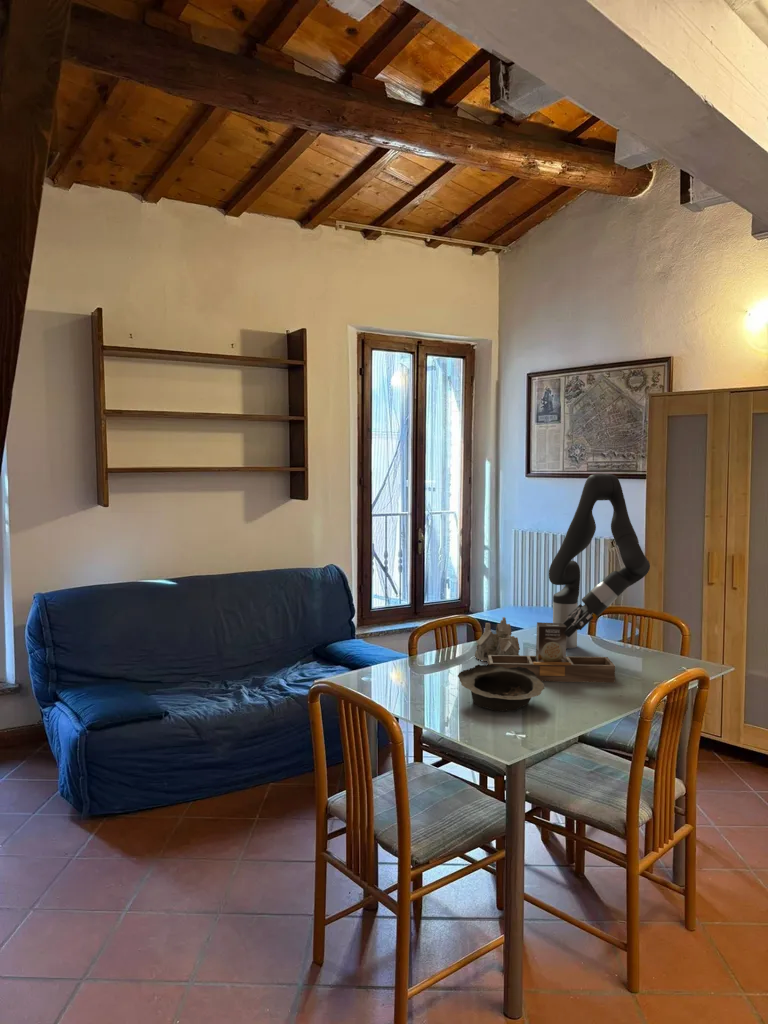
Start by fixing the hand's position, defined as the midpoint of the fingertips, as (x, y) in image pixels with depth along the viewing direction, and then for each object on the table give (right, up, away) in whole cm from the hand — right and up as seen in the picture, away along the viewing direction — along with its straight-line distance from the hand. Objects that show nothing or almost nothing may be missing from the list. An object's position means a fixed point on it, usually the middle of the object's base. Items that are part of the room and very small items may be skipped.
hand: (563, 632), depth 241 cm
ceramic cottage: (-18, -14, +23) cm, 33 cm away
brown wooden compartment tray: (-4, -15, +1) cm, 16 cm away
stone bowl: (-25, -17, -26) cm, 40 cm away
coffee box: (-4, -14, +1) cm, 14 cm away
